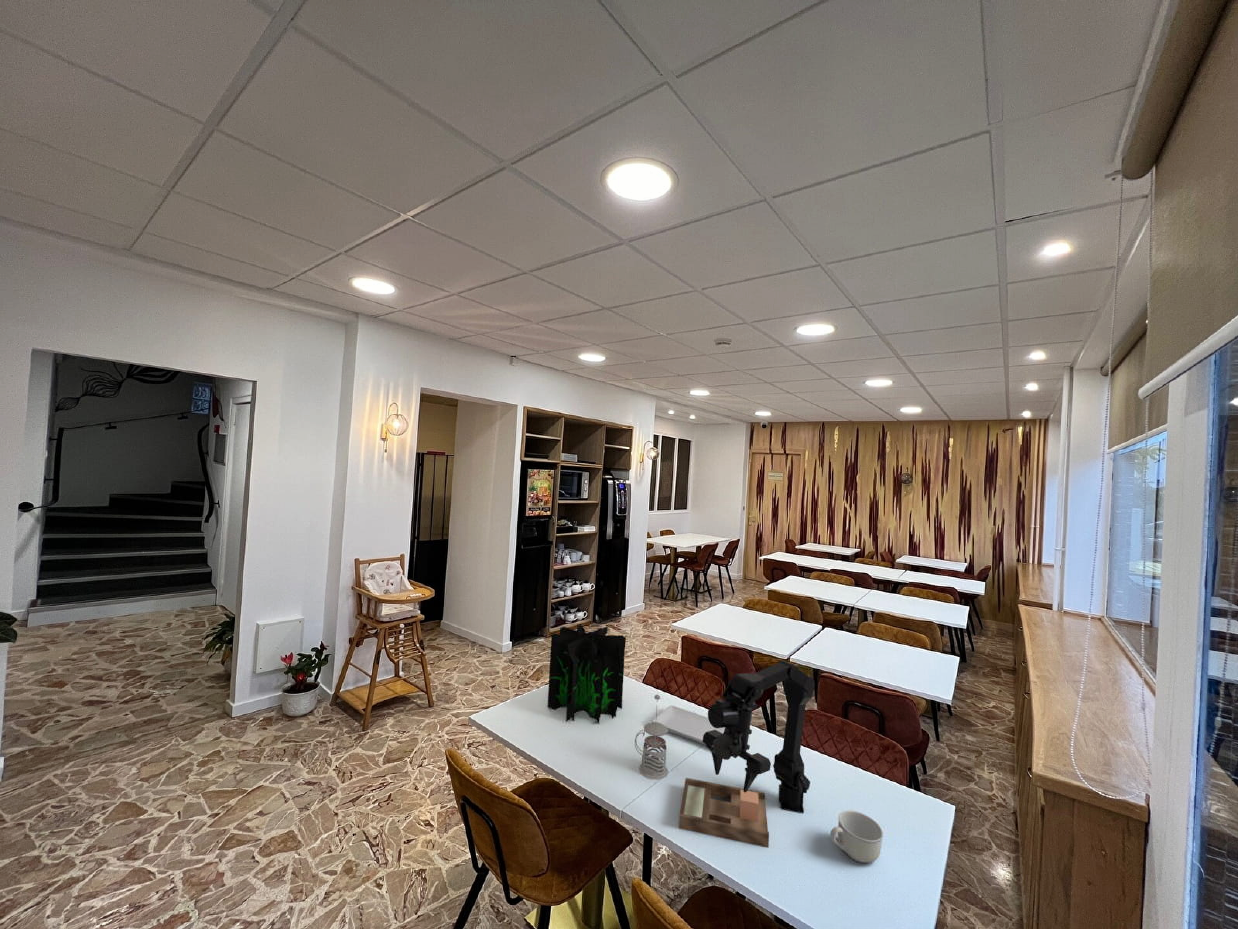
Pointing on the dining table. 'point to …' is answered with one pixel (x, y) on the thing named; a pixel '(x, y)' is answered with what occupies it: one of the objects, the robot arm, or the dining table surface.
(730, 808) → the box
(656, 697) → the french press
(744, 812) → the block
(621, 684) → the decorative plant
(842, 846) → the teacup
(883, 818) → the dining table surface
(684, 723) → the tray
